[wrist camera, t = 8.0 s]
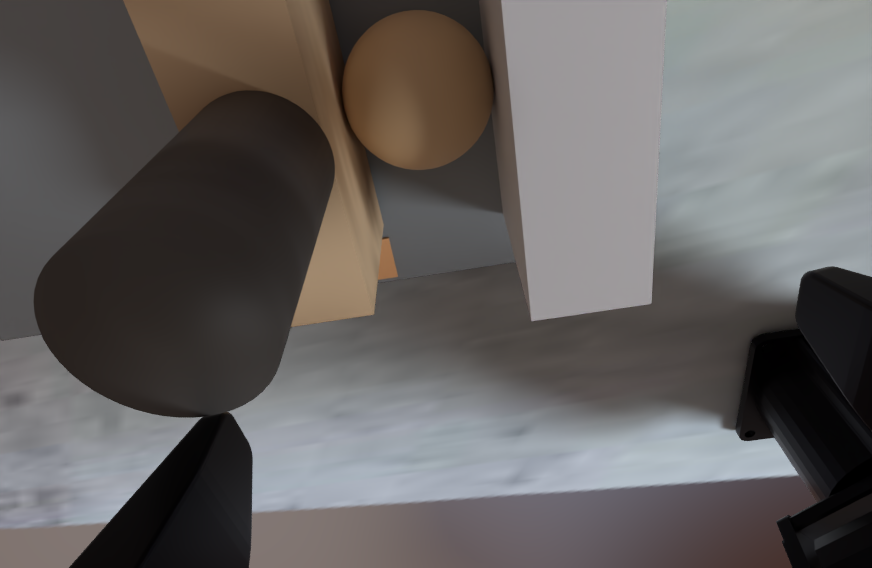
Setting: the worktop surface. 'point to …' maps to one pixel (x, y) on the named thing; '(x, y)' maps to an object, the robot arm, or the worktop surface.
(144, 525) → the robot arm
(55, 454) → the worktop surface
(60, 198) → the cracker base
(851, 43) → the worktop surface
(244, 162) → the lever handle
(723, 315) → the worktop surface
